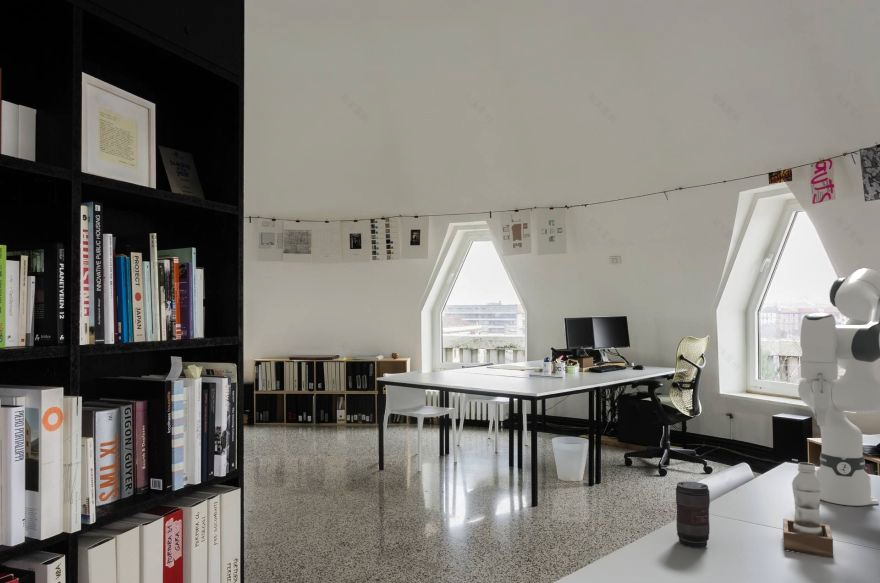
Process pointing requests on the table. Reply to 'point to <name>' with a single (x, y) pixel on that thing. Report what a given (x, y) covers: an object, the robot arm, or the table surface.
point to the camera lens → (692, 514)
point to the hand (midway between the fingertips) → (819, 422)
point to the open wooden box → (808, 541)
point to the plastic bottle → (807, 501)
